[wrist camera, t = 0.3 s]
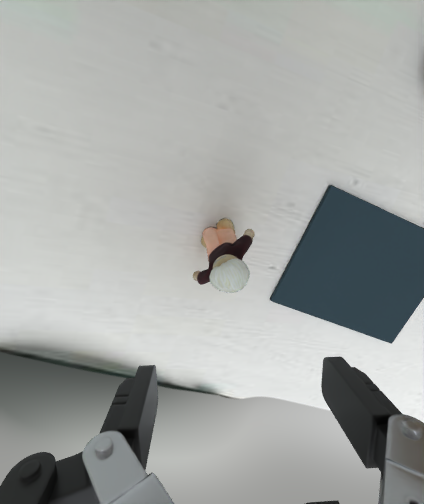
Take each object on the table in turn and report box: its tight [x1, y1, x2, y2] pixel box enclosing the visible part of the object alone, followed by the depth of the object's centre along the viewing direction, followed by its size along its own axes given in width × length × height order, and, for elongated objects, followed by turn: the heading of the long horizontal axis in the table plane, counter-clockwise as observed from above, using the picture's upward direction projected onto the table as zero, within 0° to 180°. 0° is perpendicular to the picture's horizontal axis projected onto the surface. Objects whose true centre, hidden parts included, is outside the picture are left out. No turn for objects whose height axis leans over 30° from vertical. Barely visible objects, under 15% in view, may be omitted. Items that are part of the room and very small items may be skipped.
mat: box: [270, 185, 424, 343], centre depth 36 cm, size 16×20×1 cm
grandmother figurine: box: [193, 218, 254, 293], centre depth 27 cm, size 8×4×13 cm, turn 141°
